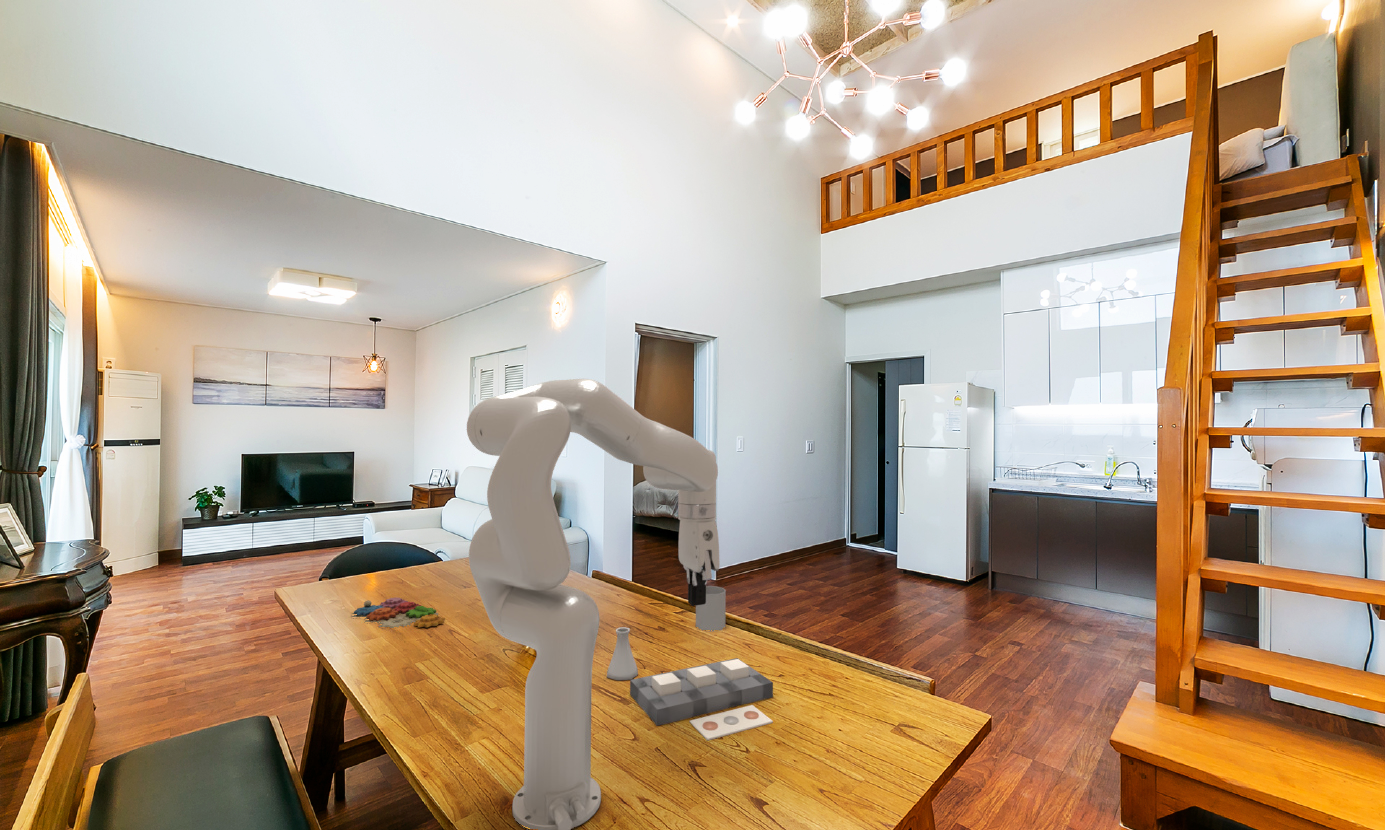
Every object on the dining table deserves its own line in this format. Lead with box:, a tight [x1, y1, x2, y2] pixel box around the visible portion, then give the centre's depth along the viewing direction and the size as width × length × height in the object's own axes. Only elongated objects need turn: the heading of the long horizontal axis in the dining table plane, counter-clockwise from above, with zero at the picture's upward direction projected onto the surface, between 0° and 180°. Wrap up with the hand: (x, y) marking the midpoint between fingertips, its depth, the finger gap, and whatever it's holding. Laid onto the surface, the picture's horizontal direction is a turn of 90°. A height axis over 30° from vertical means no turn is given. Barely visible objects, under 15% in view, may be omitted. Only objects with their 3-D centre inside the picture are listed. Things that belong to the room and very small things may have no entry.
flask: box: [606, 627, 639, 681], centre depth 129 cm, size 7×7×10 cm
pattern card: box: [689, 704, 774, 741], centre depth 108 cm, size 7×14×1 cm, turn 117°
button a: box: [720, 658, 750, 681], centre depth 123 cm, size 4×4×4 cm
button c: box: [651, 673, 681, 696], centre depth 115 cm, size 4×4×4 cm
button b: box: [687, 665, 716, 688], centre depth 119 cm, size 4×4×4 cm
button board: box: [629, 657, 774, 727], centre depth 119 cm, size 14×26×3 cm, turn 117°
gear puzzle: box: [350, 597, 446, 629], centre depth 166 cm, size 31×16×4 cm, turn 58°
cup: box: [695, 585, 727, 632], centre depth 161 cm, size 8×8×10 cm
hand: (696, 603), depth 114 cm, fingers closed
